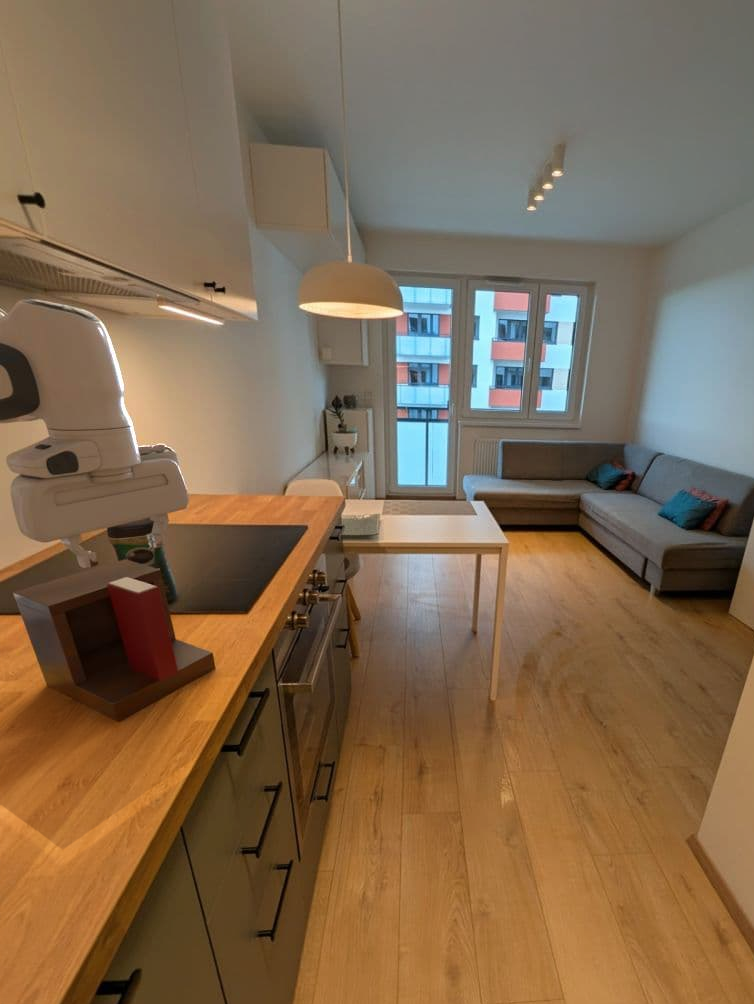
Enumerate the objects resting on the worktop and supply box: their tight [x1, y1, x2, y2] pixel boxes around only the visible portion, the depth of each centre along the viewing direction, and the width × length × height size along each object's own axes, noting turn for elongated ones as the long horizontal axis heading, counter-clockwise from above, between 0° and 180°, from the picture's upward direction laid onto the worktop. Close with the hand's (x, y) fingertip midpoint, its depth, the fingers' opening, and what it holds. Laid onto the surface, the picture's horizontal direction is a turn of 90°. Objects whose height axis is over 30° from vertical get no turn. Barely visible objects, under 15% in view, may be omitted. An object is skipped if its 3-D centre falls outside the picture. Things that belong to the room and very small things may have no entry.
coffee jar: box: [106, 518, 179, 604], centre depth 102 cm, size 10×8×19 cm
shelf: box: [12, 559, 216, 723], centre depth 77 cm, size 18×16×16 cm
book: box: [107, 577, 178, 682], centre depth 74 cm, size 7×3×14 cm, turn 62°
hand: (125, 555), depth 69 cm, fingers open, 8 cm apart
